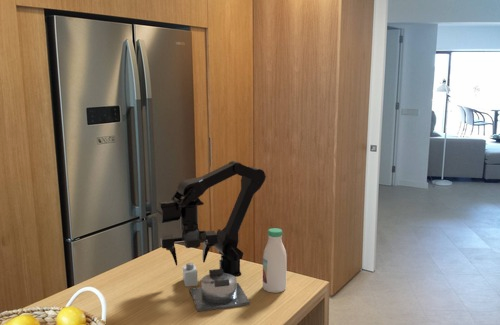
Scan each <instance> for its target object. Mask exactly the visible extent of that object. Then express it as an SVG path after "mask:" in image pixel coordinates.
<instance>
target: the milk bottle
mask: <svg viewBox="0 0 500 325" xmlns="http://www.w3.org/2000/svg"><path fill="white" fill-rule="evenodd" d="M267 237H268V240H267V243H266V245H265V248H264V250H263V253H262V254H263V255H262V289H263V290H264V291H265V292H268V293H271V294H273V293H274V294H277V293H282V292H284V291H286V288H287V264H288V263H287V251H286V248H285V246H284V244H283V241H282V237H283V230H282V229H281V228H277V227H276V228H274V227H271V228H270V229H268V230H267Z"/></svg>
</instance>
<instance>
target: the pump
mask: <svg viewBox="0 0 500 325" xmlns="http://www.w3.org/2000/svg"><path fill="white" fill-rule="evenodd" d="M182 280H183V283H184V286H185V287H194V286H198V283H199V281H198V270H197V268H196V265H195V264H194V263H192V262H188V263H186V264H185V265H182Z"/></svg>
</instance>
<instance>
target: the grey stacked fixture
mask: <svg viewBox="0 0 500 325" xmlns="http://www.w3.org/2000/svg"><path fill="white" fill-rule="evenodd" d="M200 281H201V283H200V284H201V286H199V287H191V288H190V294H191V297H192V300H193V302H194V306H195V308H196V312H200V313H201V312H205V311H212V310H213V311H216V310H222V309H228V308H229V309H230V308H236V307H243V306H250V304H251V301H250V300H249V298H248V296H247V295H246V294H245V291H244V290H243V288H242V286H241V285H240V283H239V282H238V280H237V277H236V276H233V275H231V274H227V273H223V269H220V268H217V269H209V270H208V274H207V275H204V276H203V277H202V278H201V280H200Z"/></svg>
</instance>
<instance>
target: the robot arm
mask: <svg viewBox="0 0 500 325" xmlns="http://www.w3.org/2000/svg"><path fill="white" fill-rule="evenodd" d="M235 175H238V176H241V179H240V191H239V193H238V196H237V198H236V200H235V203H234V206H233V208H232V210H231V213H230V215H229V217H228V220H227V223H226V225H225V227H223V228H222V229H220V228H219V229H217V231H215V230H208V231H207V230H200V229H199V216H198V215H199V214H198V210H199V209H198V208H199V206H203V205H204V204H205V203H204V202H203V201H202V200H201V199H200V197H201V196H203V195H204V194H205V193H206V191H207V190H208V189H210V188H212V187H213V186H216V185H217V184H219V183H222V182H224V181H226V180H227V179H230V178H232V177H234V176H235ZM266 178H267V177H266V172H265V171H264V170H263V169H261V168H257V167H254V166H246V165H244V164H242V163H241V162H238V161H234V160H232V161H229V162H228V163H226V164H224V165H223V166H220V167H218V168H216V169H214V170H213V171H210V172H208V173H205V174H204V175H202V176H198V177H192V178H188V179H185V180H182V181H180V182H179V183H178V186H177V190H176V191H175V193H174V194H173V196H172V197H171V199H170V200H171V201H161V202H158V206H157V208H156V209H157V210H156V212H155V213H156V214H155V215H156V218H157V222H158V223H159V224H160V225H162V224H168V223H173V222H174V223H175V222H179V220H180V236H177V237H174V235H173V234H162V235H161V236H160V245H161V248H162V249H165V250H166V251H169V252H170V254H171V256H172V259H173V261H174V264H175V266H176V267H177V266H178V258H177V253H176V246H175V244H183V243H184V247H185V248H186V249H190V248H200V246H201V244H202V263H205V262H206V260H207V257H208V253H209V251H210V249H211V248H212V247H214V248H215V249H216V251H218V253H219V254H220V259H219V269H223V273H227V274H231V275H233V276H235V277H236V276H241V275H242V272H241V260H242V259H243V257H244V252H243V251H242V250H240V248H238V246H239V240H240V239H239V238H240V236H239V232H240V228H241V226H242V224H243V222H244V219H245V217H246V214H247V212H248V210H249V207H250V205H251V202H252V200H253V197H254V196H255V194H256V193H257V192H258V191H259V190H260V189H261V188H262V186H263V185H264V183H265V181H266Z"/></svg>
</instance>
